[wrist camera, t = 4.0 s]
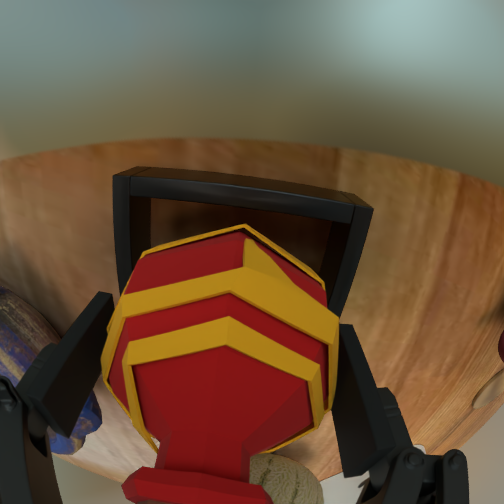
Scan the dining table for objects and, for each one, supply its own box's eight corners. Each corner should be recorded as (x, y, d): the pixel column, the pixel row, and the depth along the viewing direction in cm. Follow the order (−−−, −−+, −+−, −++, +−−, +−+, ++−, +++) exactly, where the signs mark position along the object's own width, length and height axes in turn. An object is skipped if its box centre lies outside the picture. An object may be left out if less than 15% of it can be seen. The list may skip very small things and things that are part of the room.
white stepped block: (447, 438, 31) (467, 494, 19) (370, 489, 41) (378, 534, 29) (366, 450, 29) (382, 529, 16) (294, 495, 39) (296, 549, 26)
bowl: (148, 378, 22) (117, 472, 13) (65, 401, 26) (38, 457, 17) (16, 219, 16) (-71, 278, 7) (-25, 299, 20) (-69, 345, 11)
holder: (354, 194, 15) (374, 208, 12) (306, 356, 20) (311, 386, 17) (136, 166, 14) (112, 175, 12) (144, 335, 20) (132, 362, 17)
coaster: (514, 356, 22) (516, 359, 22) (514, 376, 25) (516, 379, 24) (468, 397, 25) (469, 400, 25) (475, 411, 28) (476, 413, 27)
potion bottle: (123, 256, 17) (-17, 453, 3) (253, 157, 14) (199, 539, 1) (220, 358, 20) (195, 550, 7) (343, 294, 18) (423, 521, 4)
